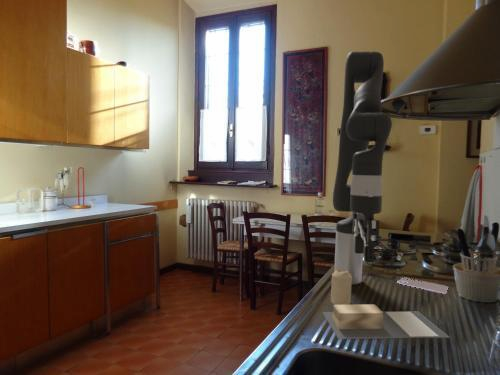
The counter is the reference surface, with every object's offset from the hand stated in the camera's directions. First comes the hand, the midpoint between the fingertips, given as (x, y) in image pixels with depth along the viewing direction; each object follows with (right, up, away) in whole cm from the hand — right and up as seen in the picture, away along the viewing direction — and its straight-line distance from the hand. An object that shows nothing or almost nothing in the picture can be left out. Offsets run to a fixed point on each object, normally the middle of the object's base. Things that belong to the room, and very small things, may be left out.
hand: (363, 257), depth 88 cm
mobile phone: (+29, -16, +30) cm, 45 cm away
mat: (+5, -17, 0) cm, 18 cm away
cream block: (-2, -17, 0) cm, 17 cm away
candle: (-2, -16, +13) cm, 21 cm away
